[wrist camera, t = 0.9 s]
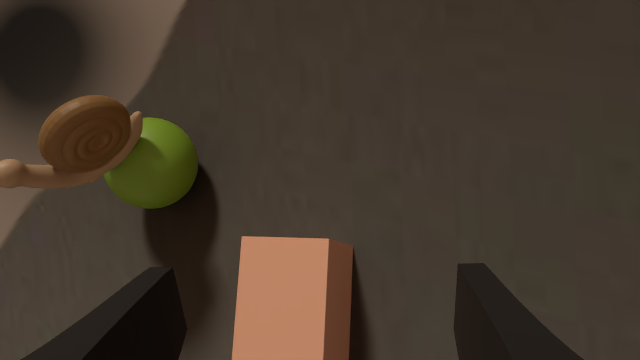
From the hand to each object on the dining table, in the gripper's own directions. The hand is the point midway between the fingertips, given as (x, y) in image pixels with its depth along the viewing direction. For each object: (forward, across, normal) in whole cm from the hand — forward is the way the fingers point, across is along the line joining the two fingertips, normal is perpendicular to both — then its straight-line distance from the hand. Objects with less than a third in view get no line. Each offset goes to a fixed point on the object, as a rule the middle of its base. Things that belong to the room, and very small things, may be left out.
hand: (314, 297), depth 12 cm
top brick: (+12, +2, +11) cm, 16 cm away
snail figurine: (+18, +11, +5) cm, 22 cm away
